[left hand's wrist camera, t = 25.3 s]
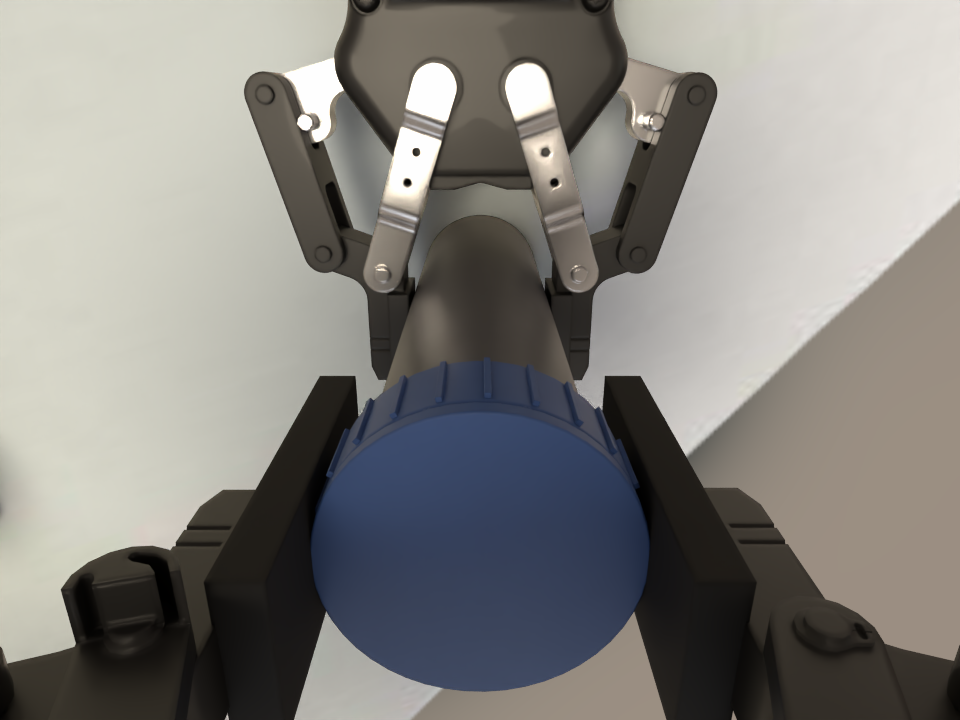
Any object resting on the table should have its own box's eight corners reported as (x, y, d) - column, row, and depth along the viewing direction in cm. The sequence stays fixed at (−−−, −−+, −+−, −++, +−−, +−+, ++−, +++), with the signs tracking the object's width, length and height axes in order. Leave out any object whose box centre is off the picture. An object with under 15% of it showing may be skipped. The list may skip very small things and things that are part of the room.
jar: (545, 226, 28) (647, 434, 11) (521, 330, 29) (576, 650, 13) (436, 204, 28) (364, 384, 11) (417, 310, 29) (331, 611, 12)
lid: (615, 331, 11) (643, 380, 9) (640, 591, 13) (667, 675, 11) (298, 380, 12) (263, 436, 10) (368, 626, 14) (350, 713, 12)
